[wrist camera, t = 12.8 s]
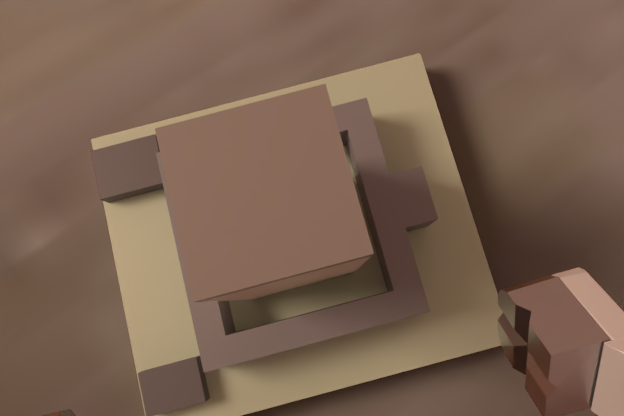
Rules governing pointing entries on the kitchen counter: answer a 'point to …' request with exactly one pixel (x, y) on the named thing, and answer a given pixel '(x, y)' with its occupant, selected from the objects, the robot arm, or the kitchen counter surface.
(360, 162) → the board
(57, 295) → the kitchen counter surface
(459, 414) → the kitchen counter surface
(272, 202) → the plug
